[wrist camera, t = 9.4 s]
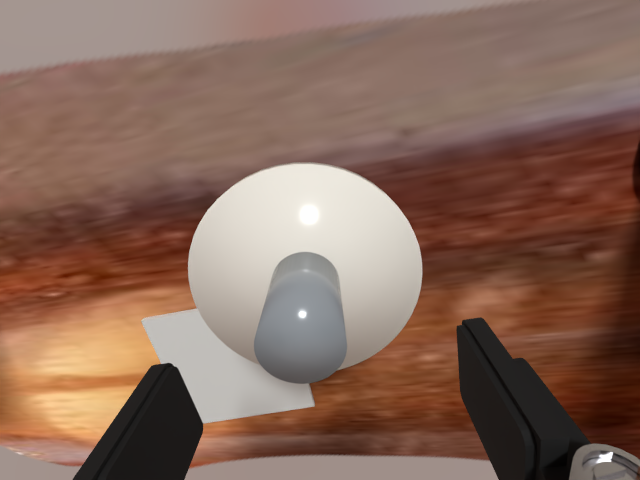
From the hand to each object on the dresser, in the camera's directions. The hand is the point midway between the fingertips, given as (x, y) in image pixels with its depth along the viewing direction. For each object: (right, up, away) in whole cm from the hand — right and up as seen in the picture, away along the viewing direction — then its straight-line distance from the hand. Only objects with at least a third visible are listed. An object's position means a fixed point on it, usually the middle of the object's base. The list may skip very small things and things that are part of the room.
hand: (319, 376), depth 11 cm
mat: (-9, -8, +23) cm, 26 cm away
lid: (-1, +3, +7) cm, 8 cm away
